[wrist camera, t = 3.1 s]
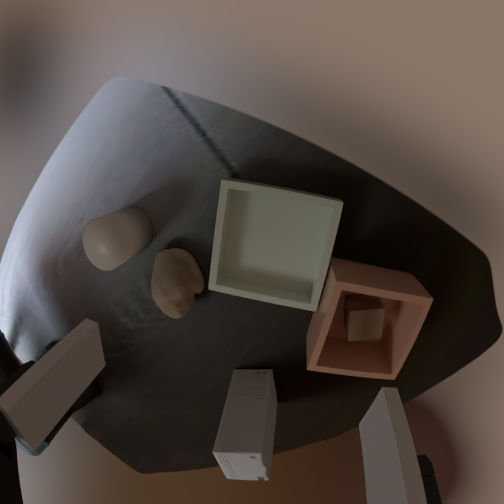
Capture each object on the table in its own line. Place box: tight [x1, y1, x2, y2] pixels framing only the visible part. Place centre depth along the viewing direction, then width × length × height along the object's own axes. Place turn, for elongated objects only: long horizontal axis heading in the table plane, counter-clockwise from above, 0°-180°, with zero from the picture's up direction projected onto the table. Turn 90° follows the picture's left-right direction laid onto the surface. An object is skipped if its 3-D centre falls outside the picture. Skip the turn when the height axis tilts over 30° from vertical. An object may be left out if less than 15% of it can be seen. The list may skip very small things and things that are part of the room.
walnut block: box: [344, 294, 385, 341], centre depth 31 cm, size 4×4×4 cm
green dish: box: [208, 178, 343, 311], centre depth 31 cm, size 12×12×3 cm
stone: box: [151, 248, 204, 318], centre depth 35 cm, size 7×6×8 cm
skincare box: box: [212, 369, 277, 480], centre depth 33 cm, size 8×6×15 cm
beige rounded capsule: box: [82, 207, 153, 271], centre depth 32 cm, size 6×6×7 cm
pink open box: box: [307, 257, 433, 380], centre depth 30 cm, size 11×11×7 cm
